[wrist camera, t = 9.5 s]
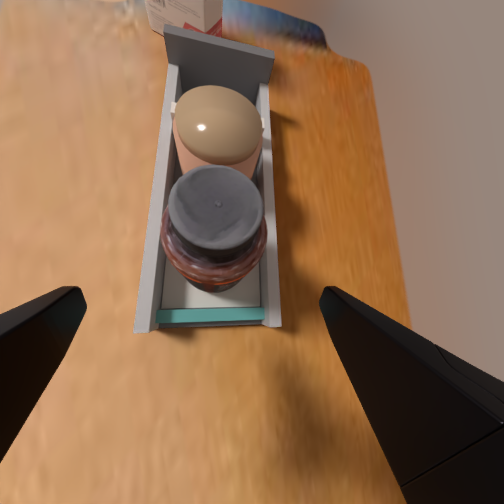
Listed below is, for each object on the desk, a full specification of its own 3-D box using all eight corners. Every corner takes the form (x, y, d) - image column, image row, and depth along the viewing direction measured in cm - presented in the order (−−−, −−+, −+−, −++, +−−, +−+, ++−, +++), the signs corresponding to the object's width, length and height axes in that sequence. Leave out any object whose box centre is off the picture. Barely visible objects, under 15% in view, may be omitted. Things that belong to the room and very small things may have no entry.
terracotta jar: (247, 215, 21) (268, 164, 13) (182, 211, 19) (164, 151, 12) (246, 163, 22) (264, 92, 15) (187, 156, 21) (174, 73, 14)
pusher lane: (269, 322, 19) (293, 330, 13) (148, 327, 17) (116, 339, 11) (260, 105, 26) (274, 50, 21) (175, 89, 24) (164, 23, 19)
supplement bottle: (256, 254, 20) (310, 195, 9) (223, 306, 18) (241, 308, 7) (207, 222, 20) (202, 121, 9) (168, 270, 18) (102, 217, 7)
